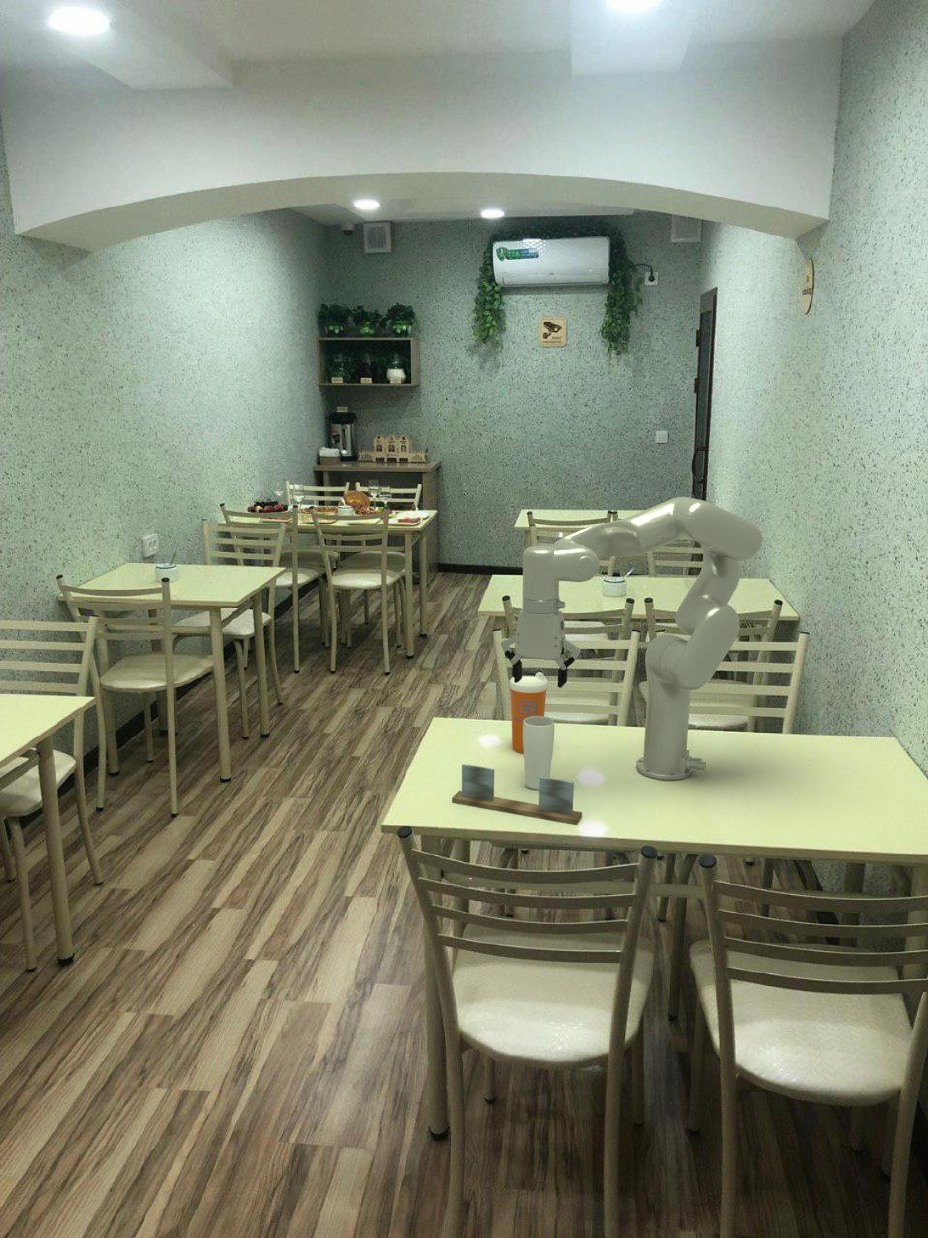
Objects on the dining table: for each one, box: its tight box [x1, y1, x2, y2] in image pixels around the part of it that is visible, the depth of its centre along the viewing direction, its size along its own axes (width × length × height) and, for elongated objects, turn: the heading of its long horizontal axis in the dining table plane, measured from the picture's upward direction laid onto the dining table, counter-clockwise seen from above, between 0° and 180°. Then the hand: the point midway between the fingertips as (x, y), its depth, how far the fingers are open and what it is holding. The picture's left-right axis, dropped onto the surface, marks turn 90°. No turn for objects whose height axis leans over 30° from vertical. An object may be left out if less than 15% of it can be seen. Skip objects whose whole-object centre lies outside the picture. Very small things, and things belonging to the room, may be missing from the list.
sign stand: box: [451, 763, 583, 826], centre depth 193 cm, size 27×4×8 cm, turn 68°
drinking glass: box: [523, 716, 555, 791], centre depth 204 cm, size 7×7×15 cm
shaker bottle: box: [509, 667, 548, 755], centre depth 225 cm, size 9×9×20 cm
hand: (539, 683), depth 200 cm, fingers open, 9 cm apart
